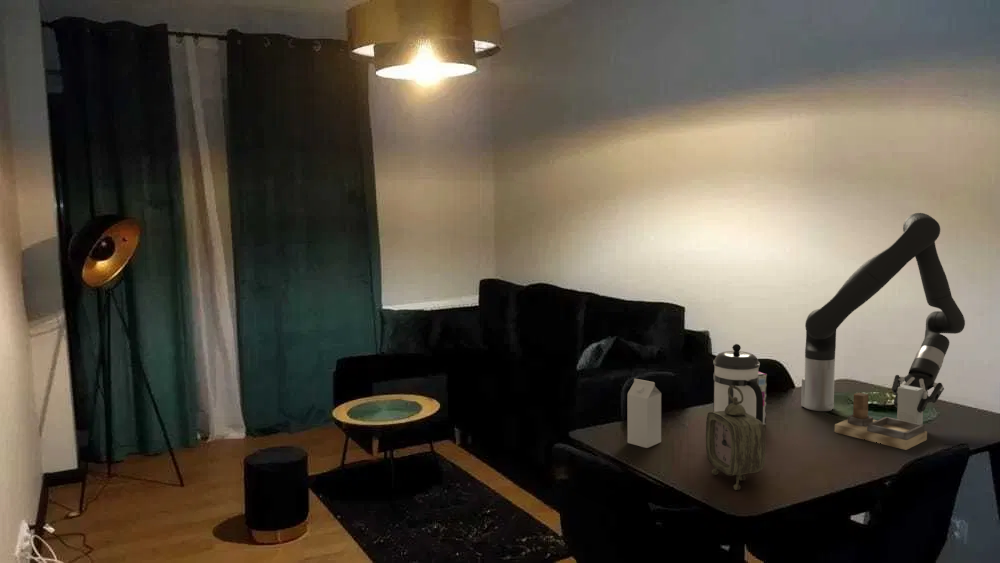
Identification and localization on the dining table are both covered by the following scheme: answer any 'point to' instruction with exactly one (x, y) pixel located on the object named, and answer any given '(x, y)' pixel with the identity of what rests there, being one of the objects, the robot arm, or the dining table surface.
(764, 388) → the candy bar box
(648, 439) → the milk carton
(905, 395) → the skincare box
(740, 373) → the coffee press
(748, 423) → the tabletop clock
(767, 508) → the dining table surface
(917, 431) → the wooden board
